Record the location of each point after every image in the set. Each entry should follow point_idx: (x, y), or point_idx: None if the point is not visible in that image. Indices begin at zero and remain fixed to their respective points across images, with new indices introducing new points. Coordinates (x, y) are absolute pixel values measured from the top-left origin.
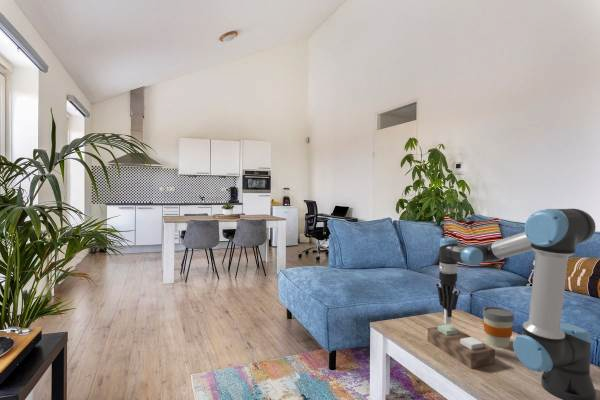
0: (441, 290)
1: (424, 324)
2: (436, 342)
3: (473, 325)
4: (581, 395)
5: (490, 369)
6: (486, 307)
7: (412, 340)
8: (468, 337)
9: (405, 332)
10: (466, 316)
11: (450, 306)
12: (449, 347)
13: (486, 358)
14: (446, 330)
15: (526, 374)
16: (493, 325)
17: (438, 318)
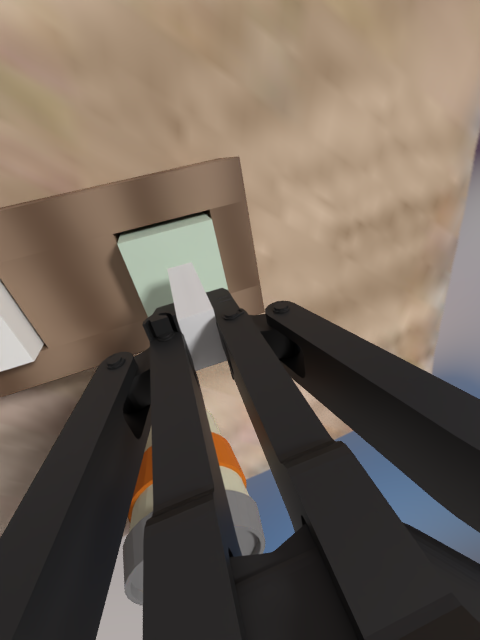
0: (434, 459)
1: (381, 238)
2: (147, 175)
3: (319, 406)
4: None
5: None
6: (258, 536)
7: (231, 49)
8: (19, 341)
9: (337, 69)
10: None
11: (109, 382)
12: (26, 203)
13: None
14: (128, 246)
15: None
16: (150, 490)
17: (403, 320)
